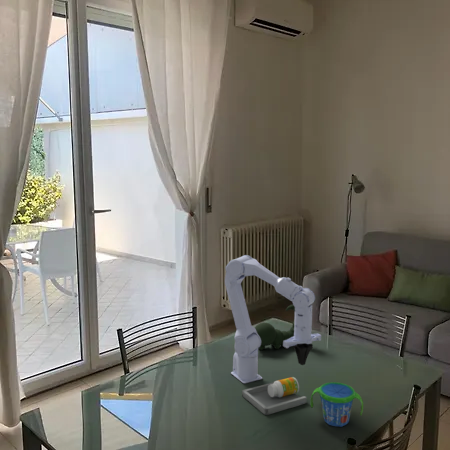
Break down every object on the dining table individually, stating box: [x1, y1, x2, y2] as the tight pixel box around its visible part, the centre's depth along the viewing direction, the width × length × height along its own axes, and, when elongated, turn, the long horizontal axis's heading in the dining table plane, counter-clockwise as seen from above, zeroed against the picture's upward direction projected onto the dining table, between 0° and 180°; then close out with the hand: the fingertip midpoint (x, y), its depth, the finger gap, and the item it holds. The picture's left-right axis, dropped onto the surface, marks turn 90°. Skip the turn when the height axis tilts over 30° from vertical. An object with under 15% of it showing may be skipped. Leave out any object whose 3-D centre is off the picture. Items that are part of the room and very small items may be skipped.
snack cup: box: [309, 381, 364, 428], centre depth 153 cm, size 16×10×10 cm
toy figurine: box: [254, 304, 295, 351], centre depth 209 cm, size 9×19×25 cm
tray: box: [241, 381, 308, 416], centre depth 166 cm, size 14×16×2 cm
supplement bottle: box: [268, 376, 300, 398], centre depth 168 cm, size 5×5×10 cm
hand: (301, 363), depth 171 cm, fingers closed
